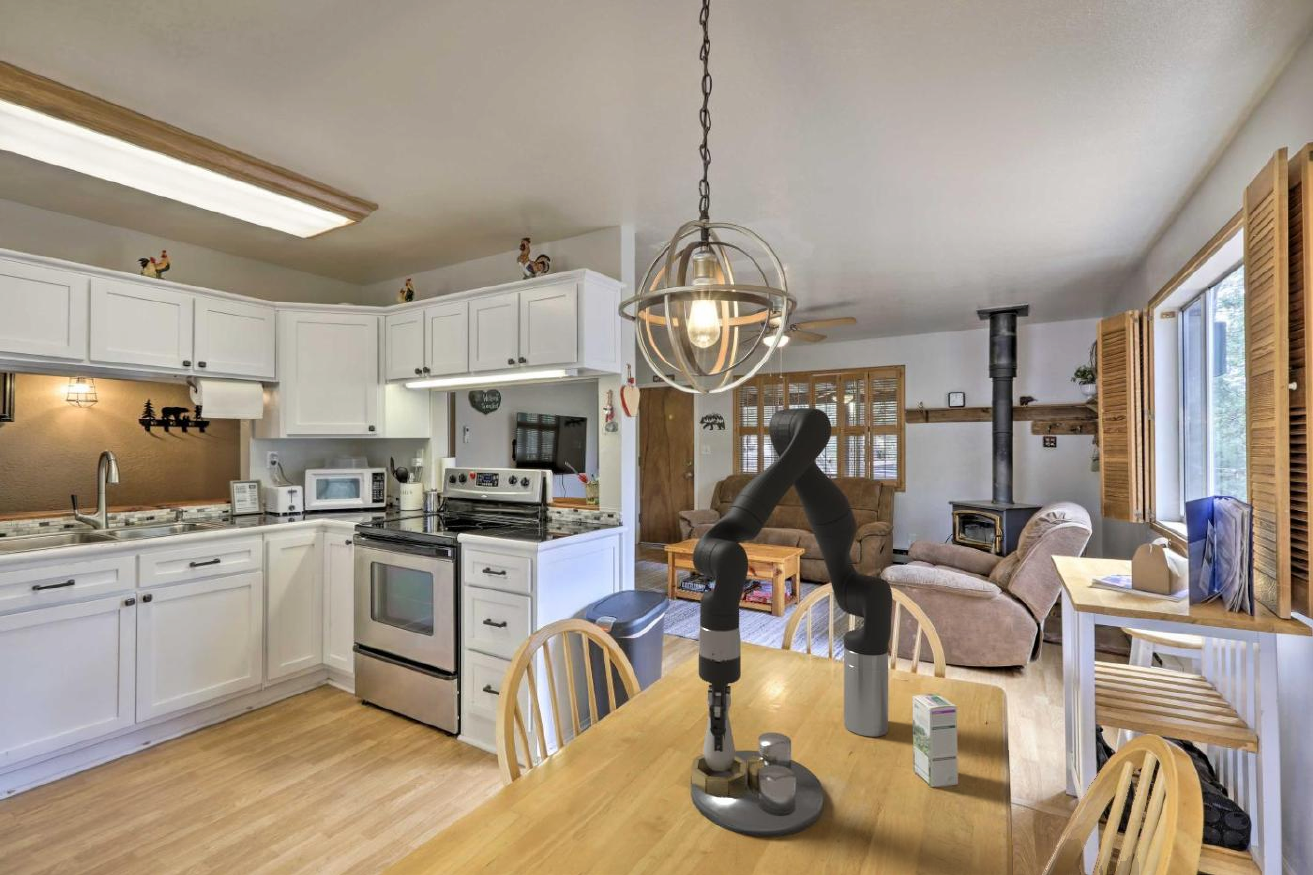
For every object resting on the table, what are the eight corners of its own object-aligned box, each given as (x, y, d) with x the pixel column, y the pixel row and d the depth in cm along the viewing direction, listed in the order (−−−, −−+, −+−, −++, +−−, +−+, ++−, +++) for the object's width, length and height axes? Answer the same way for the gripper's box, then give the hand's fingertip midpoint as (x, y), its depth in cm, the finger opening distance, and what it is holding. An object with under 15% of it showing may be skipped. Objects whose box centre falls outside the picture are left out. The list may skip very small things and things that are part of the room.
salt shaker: (732, 756, 111) (732, 685, 111) (738, 773, 105) (738, 698, 105) (701, 757, 110) (701, 686, 111) (704, 774, 105) (705, 699, 105)
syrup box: (959, 785, 110) (959, 705, 110) (929, 788, 109) (929, 707, 109) (939, 768, 115) (939, 692, 116) (911, 771, 115) (911, 694, 115)
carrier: (697, 756, 120) (697, 720, 120) (815, 766, 116) (816, 729, 116) (683, 828, 97) (683, 784, 97) (831, 844, 93) (831, 798, 94)
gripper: (702, 637, 116) (701, 728, 115) (694, 663, 102) (694, 766, 101) (741, 639, 114) (741, 731, 114) (739, 666, 101) (739, 770, 100)
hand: (719, 747), depth 108 cm, fingers closed on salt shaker, 3 cm apart
